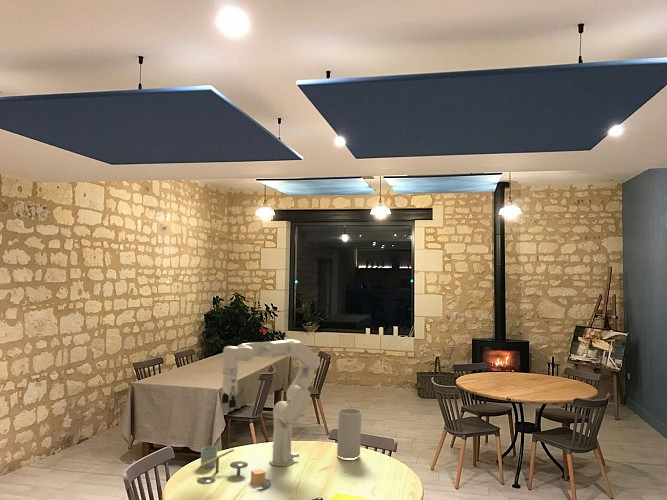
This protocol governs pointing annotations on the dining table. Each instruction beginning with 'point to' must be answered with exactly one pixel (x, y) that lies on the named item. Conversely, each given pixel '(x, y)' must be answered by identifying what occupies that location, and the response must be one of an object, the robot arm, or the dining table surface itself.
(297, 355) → the robot arm
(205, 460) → the cup
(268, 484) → the dish
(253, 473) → the block
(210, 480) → the balance
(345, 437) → the cylinder vase
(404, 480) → the dining table surface
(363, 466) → the dining table surface
